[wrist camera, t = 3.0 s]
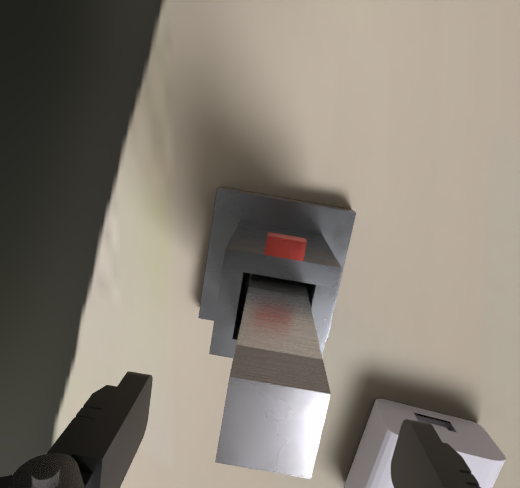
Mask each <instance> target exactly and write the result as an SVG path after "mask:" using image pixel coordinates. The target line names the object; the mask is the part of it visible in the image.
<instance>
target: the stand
mask: <svg viewBox="0 0 520 488" xmlns="http://www.w3.org/2000/svg"><path fill="white" fill-rule="evenodd" d="M355 215H356V212H355V211H353V210H351V209H345V208H339V207H334V206H328V205H322V204H316V203H310V202H305V201H299V200H293V199H287V198H282V197H276V196H270V195H264V194H258V193H253V192H247V191H241V190H235V189H229V188H224V187H219V188H217V191H216V198H215V205H214V213H213V220H212V227H211V234H210V241H209V248H208V255H207V262H206V269H205V276H204V283H203V290H202V297H201V304H200V311H199V318H201V319H207V320H213V321H214V326H213V333H212V340H211V346H210V353H209V354H213V355H218V356H224V357H230V358H234V354H235V349H236V344H237V339H238V335H239V330H240V325H241V320H242V316H243V311H244V306H245V301H246V296H247V292H248V287H249V282H250V276H251V274H257V275H263V276H269V277H274V278H280V279H286V280H292V281H297V282H303V283H305V284H306V288H307V293H308V297H309V302H310V306H311V310H312V315H313V319H314V324H315V328H316V332H317V337H318V341H319V345H320V350H321V354H323V350H324V345H325V341H326V340H327V339H328V335H329V330H330V326H331V321H332V317H333V313H334V308H335V304H336V299H337V295H338V290H339V286H340V281H341V277H342V273H343V268H344V264H345V259H346V255H347V250H348V246H349V242H350V237H351V233H352V228H353V224H354V219H355Z"/></svg>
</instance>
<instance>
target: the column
mask: <svg viewBox="0 0 520 488" xmlns="http://www.w3.org/2000/svg"><path fill="white" fill-rule="evenodd" d="M330 395H331V394H330V389H329V385H328V381H327V376H326V372H325V367H324V363H323V359H322V354H321V350H320V345H319V341H318V337H317V332H316V328H315V324H314V319H313V315H312V310H311V306H310V302H309V297H308V293H307V288H306V284H305V283H303V282H297V281H292V280H286V279H280V278H274V277H269V276H263V275H257V274H251V276H250V282H249V287H248V292H247V296H246V301H245V306H244V311H243V316H242V320H241V325H240V330H239V335H238V339H237V344H236V349H235V354H234V358H233V363H232V368H231V373H230V377H229V383H228V389H227V395H226V401H225V407H224V413H223V419H222V425H221V431H220V437H219V443H218V449H217V455H216V461H215V462H216V463H222V464H228V465H234V466H239V467H245V468H251V469H256V470H262V471H268V472H274V473H279V474H285V475H291V476H297V477H302V478H308V479H311V475H312V471H313V467H314V463H315V458H316V454H317V450H318V446H319V441H320V437H321V433H322V429H323V425H324V420H325V416H326V412H327V408H328V403H329V399H330Z"/></svg>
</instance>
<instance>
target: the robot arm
mask: <svg viewBox="0 0 520 488" xmlns="http://www.w3.org/2000/svg"><path fill="white" fill-rule="evenodd" d="M151 388H152V375H147V374H141V373H135V372H127V373H126V375H125V376H124V378H123V379H122V381H121V382H120V384H119V385H118V386H117V387H116V386H110V385H106V386H104V387H103V388H101V389H100V390H98V391H96V392H95V393H93V394H92V395H91V397H90V398H89V399H88V400H87V402H86V403H85V404H84V406H83V408H81V410H80V411H79V412H78V413H77V415H76V417H75V418H74V419H73V420H72V421H71V423H70V424H69V425H68V426H67V428H66V429H65V430H64V432H63V433H62V434H61V436H60V437H59V438H58V439H57V441H56V442H55V443H54V445H53V446H52V447H51V449H50V450H49V451H48V453H47V454H43V455H40V456H36V457H34V458H32V459H30V460H28V461H26V462H25V463H23V464H22V465H21V466H20V467H19V468H18V469H17V470H16V471H15V472H14V473H13V475H10V476H5V477H0V488H120V486H121V484H122V482H123V480H124V477H125V475H126V473H127V471H128V469H129V467H130V465H131V462H132V460H133V458H134V456H135V454H136V452H137V450H138V448H139V445H140V443H141V441H142V439H143V436H144V433H145V430H146V426H147V421H148V414H149V406H150V397H151ZM391 479H392V483H393V486H394V488H481V487H479V483H478V481H477V480H476V478H475V476H474V475H472V472H471V470H470V468H469V467H468V465H467V464H466V462H465V461H464V459H463V457H462V456H461V455H460V454H459V453H457V452H456V451H455V450H454V449H453V448H452V447H451V446H450V445H449V444H448V443H443V442H442V441H441V439H440V437H439V435H438V434H437V432H436V430H435V429H434V427H433V426H432V424H430V423H427V422H421V421H415V420H409V419H405V420H404V421H403V422H402V425H401V428H400V432H399V435H398V439H397V442H396V446H395V449H394V453H393V456H392V460H391Z"/></svg>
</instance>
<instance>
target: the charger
mask: <svg viewBox="0 0 520 488" xmlns="http://www.w3.org/2000/svg"><path fill="white" fill-rule="evenodd" d="M414 413H418V414H421V415H425V416H429V417H433V418H437V419H441V420H445V421H449V422H450V423H451V424H450V423H446V422H442V421H438V420H434V419H430V418H426V417H422V416H418V415H415V414H414ZM405 419H409V420H415V421H421V422H427V423H430V424H432V426H433V427H434V429H435V430H436V432H437V434H438V435H439V437H440V439H441V441H442V442H443V443H448V444H449V445H450V446H451V447H452V448H453V449H454V450H455V451H456V452H457V453H459V454H460V455H461V456H462V457H463V459H464V461H465V462H466V464H467V465H468V467H469V468H470V470H471V472H472V475H474V476H475V478H476V480H477V481H478V483H479V487H481V488H492V487H493V485H494V483H495V480H496V478H497V476H498V474H499V472H500V470H501V468H502V466H503V463H504V461H505V459H506V458H505V456H504V454H503V453H502V452H501V450H500V449H499V448H498V446H497V445H496V444H495V443H494V441H493V440H492V439H491V437H490V436H489V435H488V433H487V432H486V431H485V429H484V428H483V427H482V426H480V425H479V424H477V423H475V422H472V421H469V420H465V419H461V418H457V417H453V416H449V415H445V414H441V413H437V412H433V411H429V410H425V409H421V408H417V407H413V406H409V405H405V404H401V403H397V402H393V401H389V400H385V399H381V398H380V399H376V400H375V403H374V406H373V408H372V411H371V414H370V417H369V419H368V422H367V425H366V428H365V430H364V433H363V436H362V439H361V441H360V444H359V447H358V450H357V452H356V455H355V458H354V461H353V463H352V466H351V469H350V471H349V474H348V477H347V480H346V482H345V486H344V488H394V486H393V483H392V479H391V460H392V456H393V453H394V449H395V446H396V442H397V439H398V435H399V432H400V428H401V425H402V422H403V421H404V420H405Z"/></svg>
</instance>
